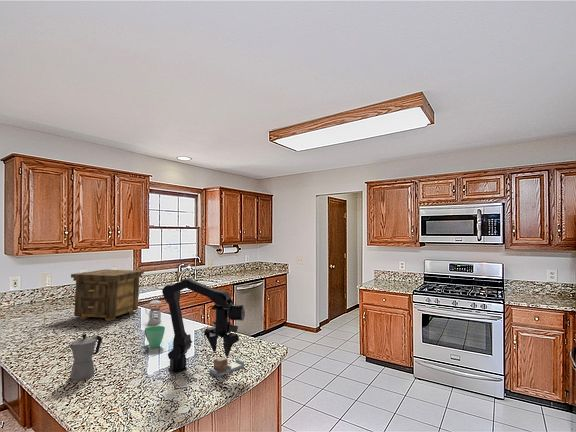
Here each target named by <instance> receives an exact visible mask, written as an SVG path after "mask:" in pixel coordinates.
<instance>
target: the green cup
mask: <svg viewBox="0 0 576 432" xmlns="http://www.w3.org/2000/svg"><path fill="white" fill-rule="evenodd" d="M165 329H166V327H165V326H163V325H154V326H146V327H145V328H144V335H145V338H146V340H147V342H148V344H149V348H152V349H157V348H160V347H161V344H162V341H163V339H164V335H165V332H166V331H165Z"/></svg>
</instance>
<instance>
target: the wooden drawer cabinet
mask: <svg viewBox="0 0 576 432" xmlns="http://www.w3.org/2000/svg"><path fill="white" fill-rule="evenodd" d="M143 274H145V271H144V270H131V269H130V270H129V269H127V270H126V269H124V270H123V269H100V270H92V271H85V272H77V273H71V275H70V278H72V279H73V281H74V282H75V293H74V295H75V296H74V311H73V312H74V314H73V316H74V317H79V320H87V319H89V318H104V319H105V321H108V322H111V321H114V320H116V317H117V316H121V315H124V314H125V315H130V314H133V313H134V311H137V310H139V295H140V294H139V290H140V289H139V288H140V278H141V277H142V275H143Z"/></svg>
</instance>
